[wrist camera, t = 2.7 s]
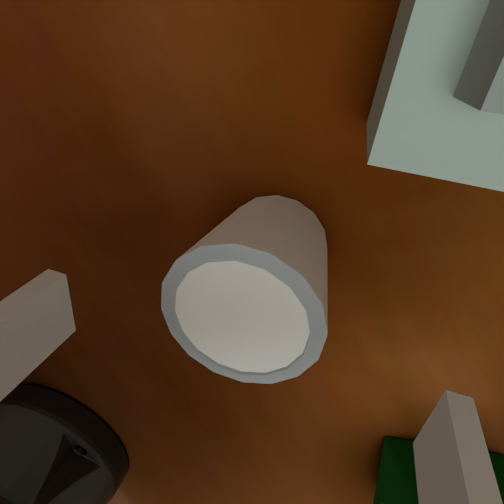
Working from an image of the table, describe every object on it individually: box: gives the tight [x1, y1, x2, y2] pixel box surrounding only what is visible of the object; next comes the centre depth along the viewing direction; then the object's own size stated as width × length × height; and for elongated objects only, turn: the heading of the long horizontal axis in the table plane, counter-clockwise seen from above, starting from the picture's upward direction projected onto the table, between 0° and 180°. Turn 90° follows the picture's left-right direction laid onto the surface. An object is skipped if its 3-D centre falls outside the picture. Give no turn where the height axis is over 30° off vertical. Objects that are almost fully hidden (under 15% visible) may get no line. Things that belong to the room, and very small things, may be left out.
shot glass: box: [161, 195, 328, 384], centre depth 17 cm, size 7×7×7 cm
